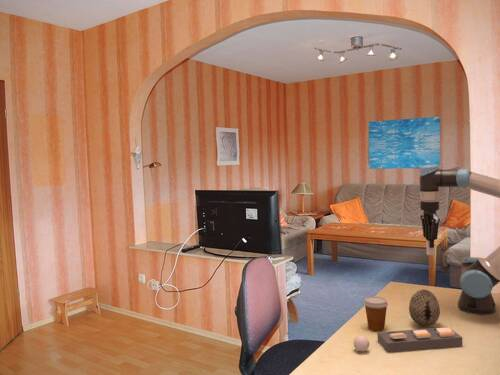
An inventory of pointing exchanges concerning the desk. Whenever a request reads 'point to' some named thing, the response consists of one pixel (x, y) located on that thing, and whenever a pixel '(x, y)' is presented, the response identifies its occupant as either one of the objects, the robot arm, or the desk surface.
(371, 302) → the disposable coffee cup
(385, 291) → the desk surface
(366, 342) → the white ball
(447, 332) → the rocker
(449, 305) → the desk surface
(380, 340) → the power strip
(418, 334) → the middle rocker
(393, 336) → the rocker
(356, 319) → the desk surface
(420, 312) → the decorative egg
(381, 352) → the desk surface
